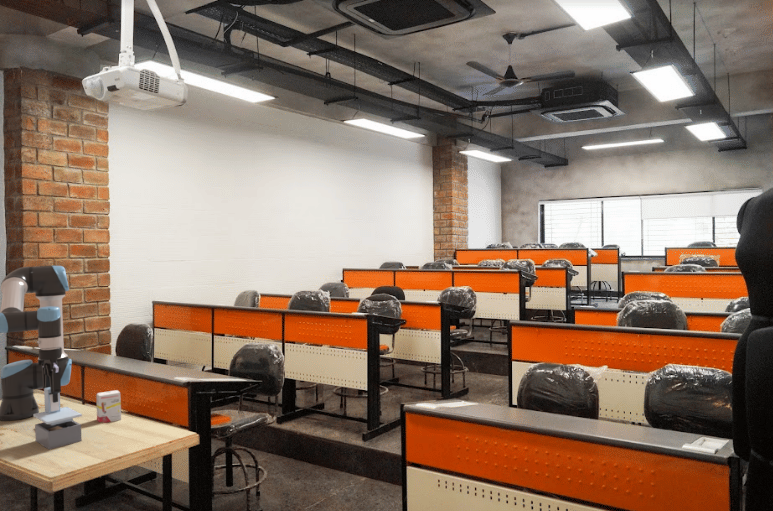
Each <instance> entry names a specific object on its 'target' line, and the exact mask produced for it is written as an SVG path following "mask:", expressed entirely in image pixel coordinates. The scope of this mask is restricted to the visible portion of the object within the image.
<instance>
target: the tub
mask: <svg viewBox="0 0 773 511" xmlns="http://www.w3.org/2000/svg"><path fill="white" fill-rule="evenodd" d="M34 426H35V427H34V429H35V430H34V431H35V435H34V436H35V442H36V443H37V444H40V445H41V446H42V447H44V448H46V449H47V450H52V449H56V448H61V447H64V446H68V445H71V444H77V443H81V442H82V441H83V440H82V438H83V437H82V424H81V423H79V422H77V421H76V420H73V421H69V422H64V423H60V424H56V425H52V426H51V425H50V424H46V423H43V422H40V423H36V424H34ZM57 426H59V427H62V428H61V429H57V430H53V431H49V430H47V429H50V428H53V427H57Z"/></svg>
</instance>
